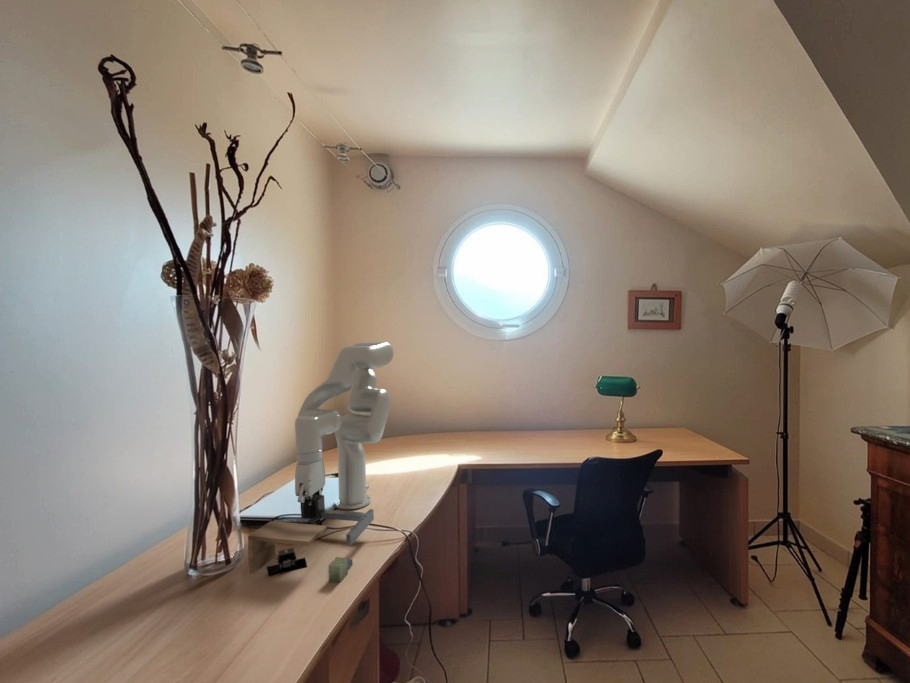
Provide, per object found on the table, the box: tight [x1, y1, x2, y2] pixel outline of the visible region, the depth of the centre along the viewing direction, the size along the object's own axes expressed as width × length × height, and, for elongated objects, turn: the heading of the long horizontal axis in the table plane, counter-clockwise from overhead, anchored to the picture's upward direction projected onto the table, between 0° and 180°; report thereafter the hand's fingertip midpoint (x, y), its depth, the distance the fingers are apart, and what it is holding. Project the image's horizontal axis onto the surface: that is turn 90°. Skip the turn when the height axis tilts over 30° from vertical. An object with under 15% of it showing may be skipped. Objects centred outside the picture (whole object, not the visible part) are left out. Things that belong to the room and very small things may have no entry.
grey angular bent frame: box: [300, 494, 375, 547], centre depth 123 cm, size 23×16×6 cm
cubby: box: [247, 520, 328, 574], centre depth 110 cm, size 9×17×10 cm, turn 77°
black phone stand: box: [266, 547, 308, 577], centre depth 110 cm, size 12×7×5 cm, turn 116°
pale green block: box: [327, 556, 354, 584], centre depth 107 cm, size 8×3×4 cm, turn 167°
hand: (313, 513), depth 131 cm, fingers closed on grey angular bent frame, 3 cm apart
